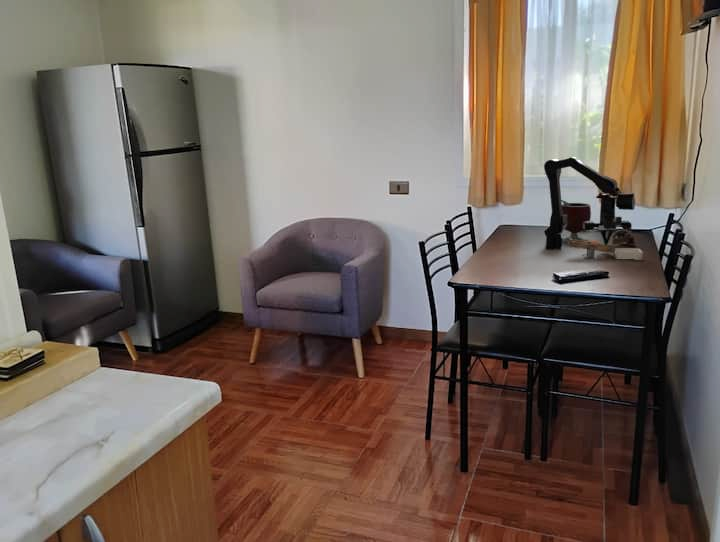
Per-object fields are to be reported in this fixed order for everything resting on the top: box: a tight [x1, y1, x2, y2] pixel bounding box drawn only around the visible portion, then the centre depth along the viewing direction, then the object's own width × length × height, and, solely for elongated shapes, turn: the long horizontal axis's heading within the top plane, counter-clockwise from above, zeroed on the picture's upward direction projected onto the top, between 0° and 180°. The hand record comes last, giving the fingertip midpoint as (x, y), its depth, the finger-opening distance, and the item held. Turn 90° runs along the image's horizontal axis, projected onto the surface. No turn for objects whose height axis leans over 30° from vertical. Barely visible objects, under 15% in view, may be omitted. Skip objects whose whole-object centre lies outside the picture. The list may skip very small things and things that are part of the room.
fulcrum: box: [582, 247, 600, 260], centre depth 253 cm, size 5×8×5 cm, turn 169°
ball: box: [589, 239, 599, 245], centre depth 252 cm, size 3×3×3 cm
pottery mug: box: [611, 229, 636, 247], centre depth 275 cm, size 12×10×8 cm
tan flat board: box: [567, 238, 616, 254], centre depth 257 cm, size 18×14×3 cm
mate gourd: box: [561, 199, 592, 243], centre depth 288 cm, size 16×14×20 cm
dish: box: [612, 247, 644, 261], centre depth 250 cm, size 10×7×3 cm
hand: (605, 245), depth 261 cm, fingers closed, pressing on tan flat board
